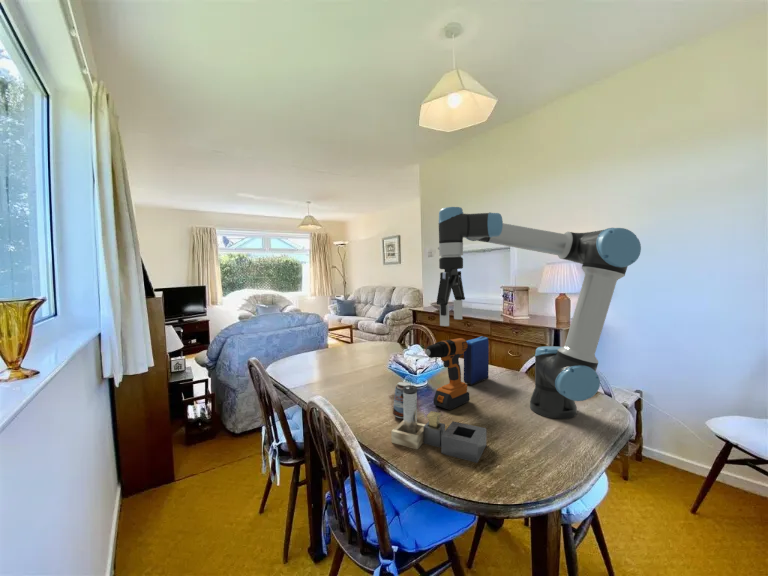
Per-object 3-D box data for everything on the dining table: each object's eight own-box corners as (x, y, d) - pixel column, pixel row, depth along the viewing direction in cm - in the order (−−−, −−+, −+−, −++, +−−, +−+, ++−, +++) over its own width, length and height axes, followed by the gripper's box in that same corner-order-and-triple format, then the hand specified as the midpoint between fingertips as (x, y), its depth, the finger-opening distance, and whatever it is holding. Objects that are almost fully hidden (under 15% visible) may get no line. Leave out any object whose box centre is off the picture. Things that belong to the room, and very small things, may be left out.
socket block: (486, 448, 99) (486, 428, 99) (477, 466, 91) (477, 444, 90) (432, 435, 107) (432, 417, 107) (420, 450, 99) (419, 430, 98)
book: (481, 376, 162) (480, 334, 161) (490, 379, 158) (490, 336, 156) (462, 384, 153) (461, 339, 151) (472, 387, 149) (472, 341, 147)
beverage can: (389, 417, 121) (388, 384, 120) (403, 410, 126) (402, 378, 126) (402, 422, 117) (401, 388, 116) (416, 415, 122) (415, 382, 121)
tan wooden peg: (441, 438, 102) (441, 413, 102) (437, 443, 100) (437, 417, 99) (431, 436, 104) (431, 411, 103) (427, 440, 101) (427, 415, 101)
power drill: (435, 417, 120) (434, 347, 119) (420, 410, 126) (419, 343, 124) (473, 400, 134) (472, 337, 132) (458, 395, 140) (457, 335, 138)
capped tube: (419, 437, 104) (419, 386, 103) (413, 444, 101) (413, 391, 100) (407, 434, 106) (406, 384, 105) (401, 440, 103) (400, 388, 102)
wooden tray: (428, 439, 105) (428, 425, 105) (417, 452, 98) (417, 437, 98) (404, 433, 109) (403, 419, 109) (391, 445, 102) (391, 431, 102)
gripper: (452, 257, 122) (452, 316, 124) (424, 256, 101) (426, 328, 102) (473, 256, 119) (473, 317, 120) (449, 255, 97) (450, 329, 98)
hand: (451, 322), depth 111 cm, fingers open, 13 cm apart
